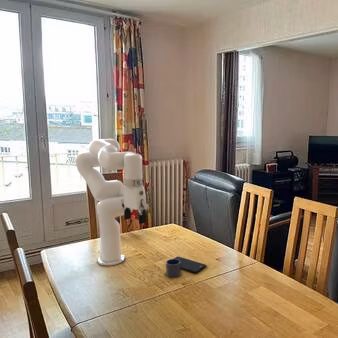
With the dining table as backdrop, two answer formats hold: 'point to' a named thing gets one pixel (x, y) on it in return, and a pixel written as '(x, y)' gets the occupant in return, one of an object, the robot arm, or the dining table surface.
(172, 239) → the dining table surface
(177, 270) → the blue plastic cup
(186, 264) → the cell phone
